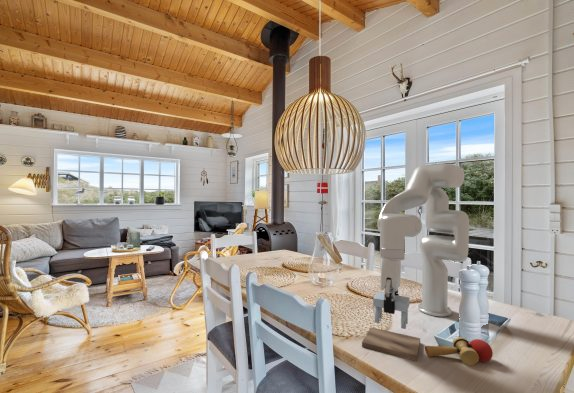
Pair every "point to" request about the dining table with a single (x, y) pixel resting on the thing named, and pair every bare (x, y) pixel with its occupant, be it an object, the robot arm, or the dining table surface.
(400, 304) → the stool
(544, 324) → the dining table surface
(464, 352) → the kendama
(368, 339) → the walnut board
